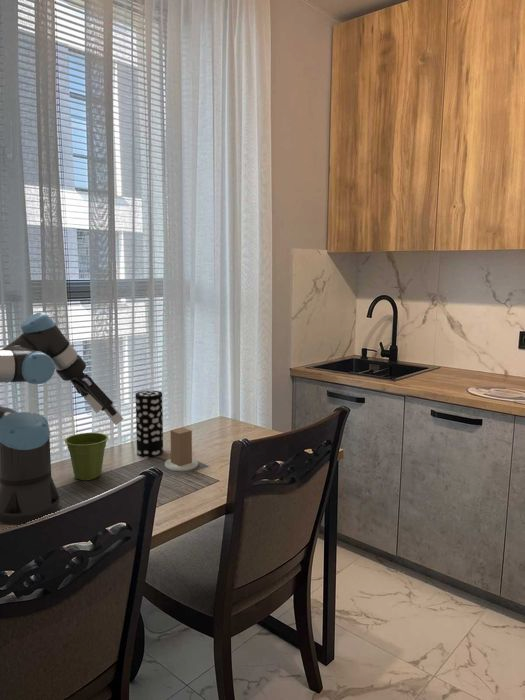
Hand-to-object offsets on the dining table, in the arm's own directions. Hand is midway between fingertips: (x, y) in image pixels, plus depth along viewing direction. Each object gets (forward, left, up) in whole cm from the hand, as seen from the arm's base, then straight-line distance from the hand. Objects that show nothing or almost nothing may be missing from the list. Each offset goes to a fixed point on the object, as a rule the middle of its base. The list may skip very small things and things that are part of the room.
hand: (109, 415), depth 158 cm
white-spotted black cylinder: (+15, +2, -16) cm, 22 cm away
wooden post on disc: (+16, -14, -15) cm, 26 cm away
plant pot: (-8, -2, -16) cm, 18 cm away
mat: (+16, -14, -16) cm, 26 cm away
